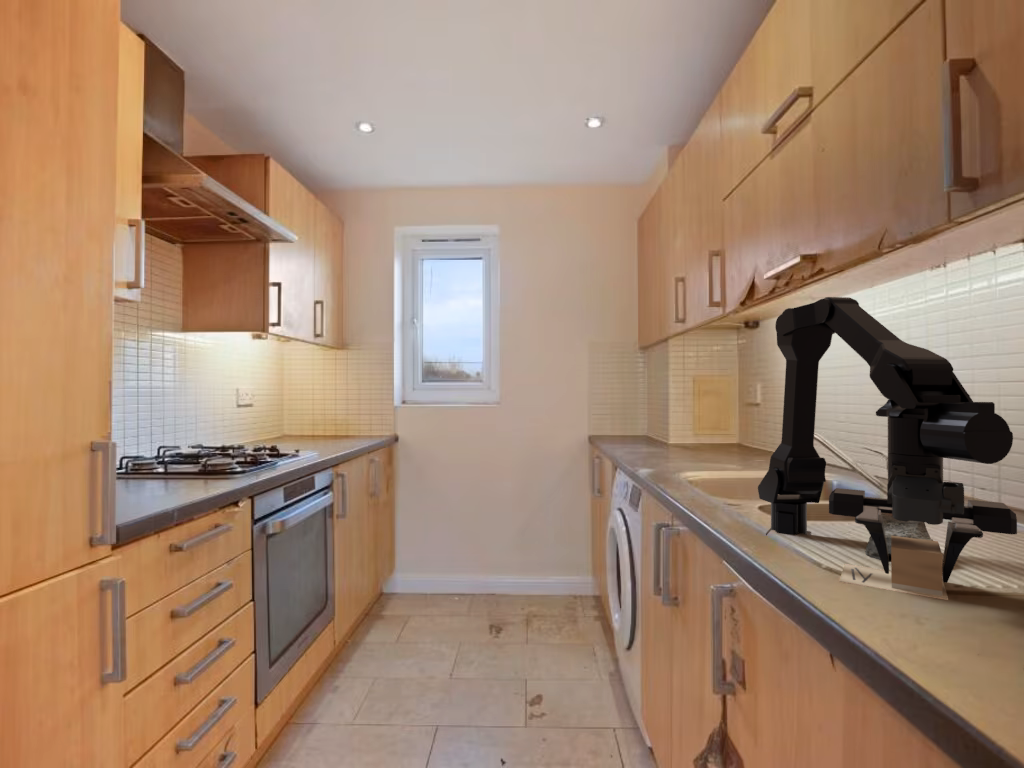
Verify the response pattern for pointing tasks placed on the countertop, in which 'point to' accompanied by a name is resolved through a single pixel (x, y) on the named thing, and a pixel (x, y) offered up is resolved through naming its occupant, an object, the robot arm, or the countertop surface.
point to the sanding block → (916, 565)
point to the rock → (897, 533)
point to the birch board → (877, 579)
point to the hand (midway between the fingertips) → (915, 577)
